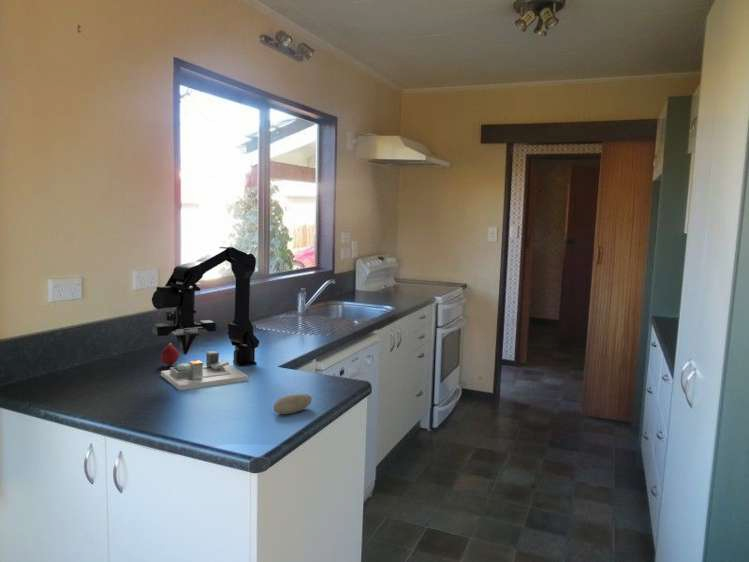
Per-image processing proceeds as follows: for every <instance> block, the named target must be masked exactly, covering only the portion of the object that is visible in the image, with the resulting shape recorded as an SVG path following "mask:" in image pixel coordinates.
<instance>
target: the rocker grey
mask: <svg viewBox="0 0 749 562" xmlns="http://www.w3.org/2000/svg"><path fill="white" fill-rule="evenodd" d="M226 365H230V362H229V361H227V360H225V359H223V360H218V362H216V363H213V364H210V366H211V367H212V368H213V369H217V368H220V367H223V366H226Z"/></svg>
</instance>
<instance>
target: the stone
mask: <svg viewBox="0 0 749 562" xmlns="http://www.w3.org/2000/svg"><path fill="white" fill-rule="evenodd" d="M312 401H313V399H312V396H311V395H310V394H308V393H301V394H300V393H299V394H298V393H297V394H291V395H286V396H283V397H279V398H278V399H277V400H276V402H274V404H273V410H274V412H275V413H277V414H278V415H290V414H294V413H298V411H299V412H301V411H303V410H304V409H306V408H307V407H309V406H310V405H311V403H312Z"/></svg>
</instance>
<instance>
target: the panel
mask: <svg viewBox="0 0 749 562" xmlns="http://www.w3.org/2000/svg"><path fill="white" fill-rule="evenodd" d="M169 367H170V368H169V369H168V370H167V369H166V370H161V371H160V376H161V377H162V378H164V380H166V381H167V382H168V383H170V384H171V385H172V386H173V387H175V389H177V390H178V391H185V390H191V389H198V388H199V389H200V388H205V387H212V386H219V385H227V384H234V383H240V382H241V383H242V382H247V381H248V382H249V376H248V375H247V374H245V373H244V372H242V371H240V370H238V369H237V368H235V367H234V366H232V365H230V364H229V365H226V366H223V367H220V368H217V369H213V368H209V367H207V366H206V365H203V376H202V378H201V379H194V380H193V379H191V378H190V370H189V371H182V372H179V371H177V366H169Z"/></svg>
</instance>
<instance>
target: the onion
mask: <svg viewBox="0 0 749 562" xmlns="http://www.w3.org/2000/svg"><path fill="white" fill-rule="evenodd" d="M179 357H180V353H179V351H178V349H177V348H176V347H175V346H173V343H172V342H170V343H168V345H167V346H166V347H164V348H163V349H162V351H161V354H160V359H161V361H162V363H164V364H165V365H167V366H168V367H173V365H174V364H175V363H176V362H178V359H179Z"/></svg>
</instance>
